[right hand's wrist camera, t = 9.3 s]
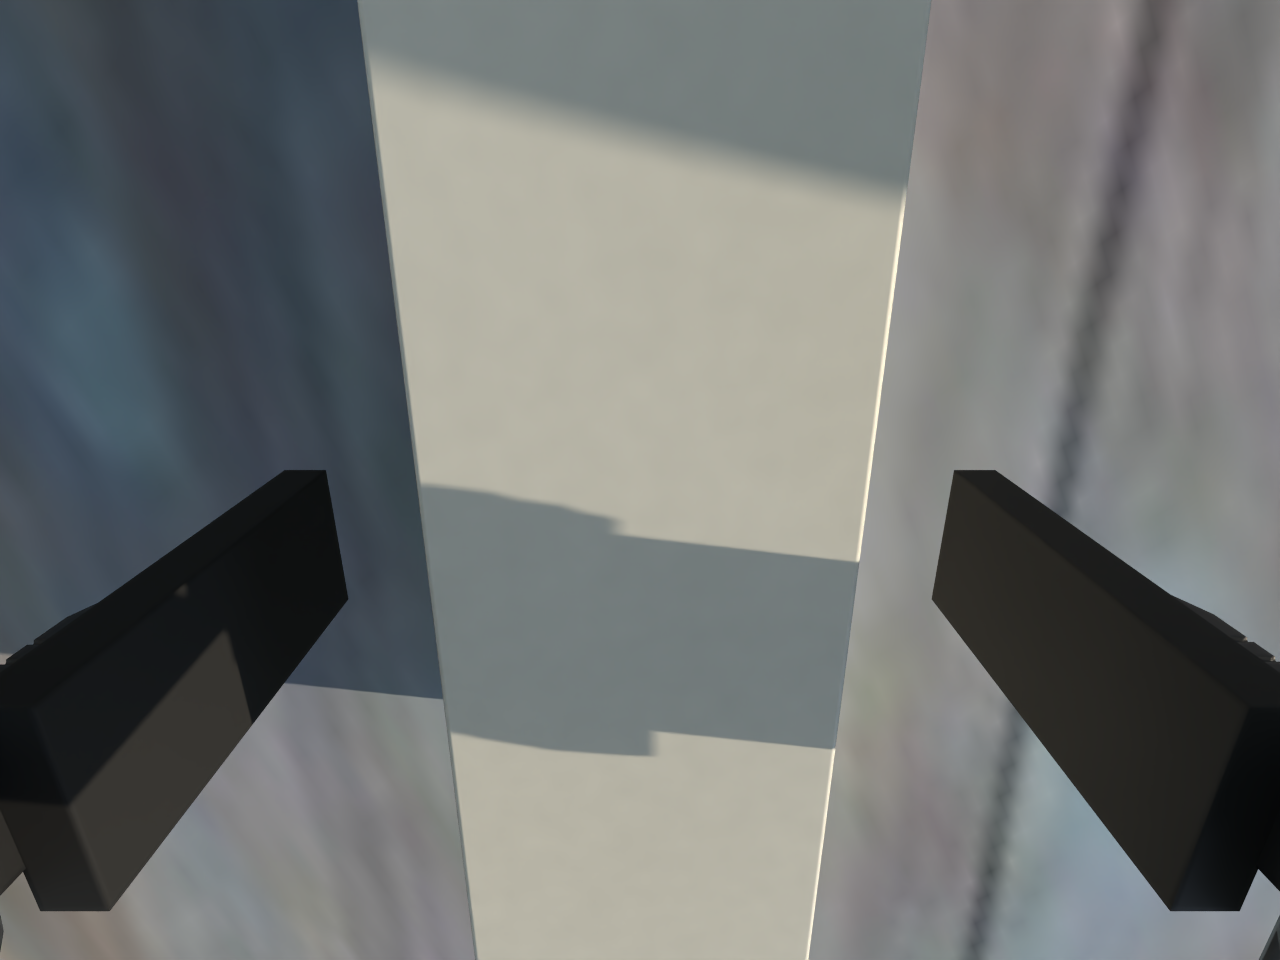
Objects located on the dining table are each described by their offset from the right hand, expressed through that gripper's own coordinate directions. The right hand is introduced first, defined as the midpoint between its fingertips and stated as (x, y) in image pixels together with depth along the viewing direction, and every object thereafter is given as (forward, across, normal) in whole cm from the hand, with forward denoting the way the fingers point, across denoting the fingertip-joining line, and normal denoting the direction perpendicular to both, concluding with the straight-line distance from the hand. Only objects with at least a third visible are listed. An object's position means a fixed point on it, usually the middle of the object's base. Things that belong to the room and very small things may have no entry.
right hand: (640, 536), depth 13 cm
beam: (+4, 0, -24) cm, 25 cm away
